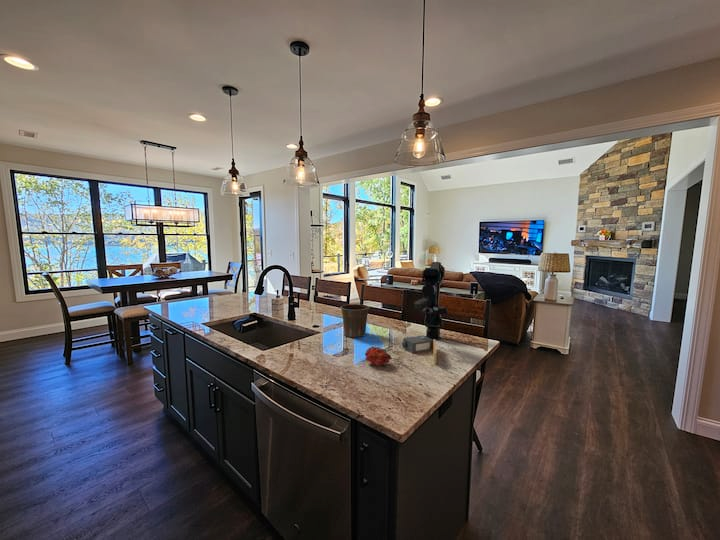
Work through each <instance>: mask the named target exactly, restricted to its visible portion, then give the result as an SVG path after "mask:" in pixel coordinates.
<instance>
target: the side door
mask: <svg viewBox="0 0 720 540" xmlns="http://www.w3.org/2000/svg"><path fill="white" fill-rule="evenodd" d="M432 352H433V353H432V354H433V364H434V365H437V362H438V352H437V345H436V339H433V350H432Z"/></svg>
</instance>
